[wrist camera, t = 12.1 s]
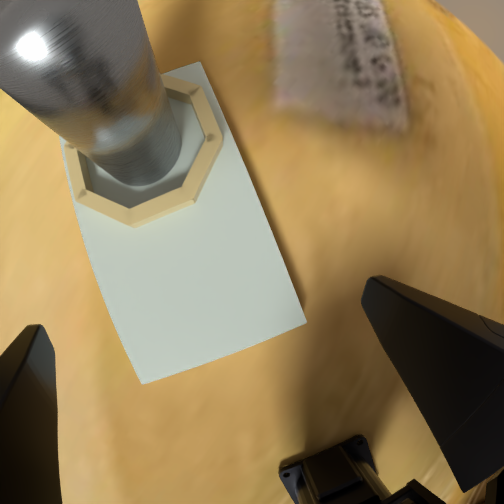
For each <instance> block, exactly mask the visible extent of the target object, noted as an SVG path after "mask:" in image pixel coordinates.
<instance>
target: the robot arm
mask: <svg viewBox="0 0 504 504" xmlns="http://www.w3.org/2000/svg"><path fill="white" fill-rule="evenodd" d="M361 304H362V307H363V309H364V311H365V313H366V315H367V317H368V319H369V321H370V323H371V325H372V327H373V329H374V331H375V333H376V335H377V337H378V339H379V341H380V343H381V345H382V347H383V348H384V350H385V352H386V354H387V355H388V357H389V358H390V360H391V362H392V363H393V365H394V367H395V368H396V370H397V372H398V373H399V375H400V377H401V378H402V380H403V382H404V384H405V385H406V387H407V389H408V390H409V392H410V394H411V396H412V397H413V399H414V401H415V403H416V404H417V406H418V408H419V410H420V411H421V413H422V415H423V417H424V419H425V420H426V422H427V424H428V426H429V428H430V430H431V431H432V433H433V435H434V437H435V439H436V441H437V443H438V444H439V446H440V449H441V451H442V453H443V454H444V456H445V458H446V460H447V462H448V464H449V466H450V468H451V470H452V472H453V474H454V476H455V478H456V480H457V482H458V484H459V486H460V488H461V490H462V492H463V493H465V492H467V491H468V490H470V489H471V488H473V487H475V486H476V485H478V484H479V483H481V482H482V481H484V480H485V479H487V478H488V477H489V476H491V475H492V474H494V473H495V472H497V471H498V472H497V473H496V474H495V475H494V476H493V477H492V478H491V479H490V480H489V481H488V482H487V486H486V496H485V504H504V325H503V324H500V323H498V322H495V321H493V320H490V319H488V318H485V317H483V316H481V315H478V314H476V313H474V312H471V311H469V310H466V309H464V308H462V307H459V306H457V305H454V304H452V303H449V302H447V301H445V300H442V299H440V298H437V297H435V296H432V295H430V294H427V293H425V292H423V291H420V290H418V289H415V288H413V287H410V286H408V285H405V284H403V283H400V282H398V281H395V280H392V279H390V278H387V277H385V276H382V275H377V276H372V277H369V278H368V280H367V282H366V285H365V288H364V292H363V295H362V298H361ZM359 440H361V441H360V442H358V441H359ZM357 442H358V443H357ZM278 473H279V477H280V479H281V481H282V482H283V484H284V486H285V488H286V489H287V491H288V493H289V494H290V496H291V498H292V500H293V501H294V503H295V504H446V503H445V502H444V501H442V500H441V499H440V498H438V497H437V496H436V495H434V494H433V493H432V492H431V491H429V490H428V489H427V488H425V487H424V486H423V485H421V484H420V483H419V482H418V481H416V480H415V479H413V480H411V481H410V482H408V483H407V484H406V486H405V487H403V488H402V489H400V490H398V491H397V492H395V493H394V494H391V493H390V492H389V490H388V489H387V488H386V486H385V485H384V484H383V482H382V481H381V480H380V478H379V477H378V476H377V474H376V471H375V467H374V464H373V460H372V457H371V453H370V450H369V446H368V443H367V440H366V438H365V437H364V436H363V435H361V434H360V435H356V436H354V437H352V438H350V439H348V440H346V441H344V442H342V443H340V444H338V445H336V446H334V447H332V448H329V449H327V450H325V451H323V452H320V453H318V454H316V455H314V456H311V457H309V458H306V459H304V460H301V461H299V462H296V463H294V464H291V465H289V466H286V467H283V468H281V469H280V470H279V472H278ZM284 473H288V474H284ZM0 504H62V496H61V487H60V476H59V462H58V408H57V391H56V368H55V351H54V348H53V345H52V343H51V341H50V339H49V337H48V335H47V332H46V330H45V328H44V327H43V325H41V324H34V325H28V326H26V327H25V329H24V330H23V331H22V332H21V333H20V334H19V335H18V336H17V337H16V338H15V340H14V341H13V342H12V343H11V344H10V345H9V346H8V348H7V349H6V350H5V351H4V352H3V353H2V355H1V356H0Z"/></svg>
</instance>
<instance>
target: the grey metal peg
mask: <svg viewBox="0 0 504 504" xmlns="http://www.w3.org/2000/svg"><path fill="white" fill-rule="evenodd" d="M0 88H1V89H2V90H3V91H4V92H6V93H7V94H8V95H9V96H11V97H12V98H13V99H14V100H15V101H17V102H18V103H19V104H20V105H22V106H23V107H24V108H25V109H27V110H28V111H29V112H30V113H32V114H33V115H34V116H35V117H37V118H38V119H39V120H40V121H42V122H43V123H44V124H45V125H47V126H48V127H49V128H51V129H52V130H53V131H54V132H56V133H57V134H58V135H59V136H61V137H62V138H63V139H64V140H66V141H67V142H68V143H70V144H71V145H72V146H73V147H75V148H76V149H77V150H79V151H80V152H81V153H82V154H84V155H85V156H86V157H88V158H89V159H90V160H92V161H93V162H94V163H95V164H97V165H98V166H99V167H101V168H102V169H103V170H105V171H106V172H107V173H109V174H110V175H111V176H112V177H114V178H115V179H116V180H118V181H119V182H121V183H123V184H125V185H129V186H146V185H150V184H152V183H155V182H157V181H159V180H160V179H162V178H163V177H165V176H166V175H167V174H168V173H169V172H170V171H171V170H172V168H173V167H174V166H175V164H176V162H177V160H178V158H179V155H180V152H181V135H180V132H179V129H178V126H177V124H176V121H175V118H174V115H173V112H172V109H171V106H170V103H169V100H168V97H167V94H166V91H165V88H164V85H163V81H162V78H161V75H160V72H159V69H158V66H157V63H156V60H155V57H154V53H153V50H152V47H151V44H150V41H149V38H148V34H147V31H146V28H145V25H144V21H143V18H142V15H141V11H140V8H139V5H138V1H137V0H0Z"/></svg>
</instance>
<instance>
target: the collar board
mask: <svg viewBox="0 0 504 504" xmlns="http://www.w3.org/2000/svg"><path fill="white" fill-rule="evenodd" d="M160 75H161V78H162V81H163V85H164V88H165V91H166V94H167V97H168V100H169V103H170V106H171V109H172V112H173V115H174V118H175V121H176V124H177V126H178V129H179V132H180V135H181V152H180V155H179V158H178V160H177V162H176V164H175V166H174V167H173V168H172V170H171V171H170V172H169V173H168V174H167V175H166V176H165V177H163V178H162V179H160V180H159V181H157V182H155V183H152V184H150V185H146V186H129V185H125V184H123V183H121V182H119V181H118V180H116V179H115V178H114V177H112V176H111V175H110V174H109V173H107V172H106V171H105V170H103V169H102V168H101V167H99V166H98V165H97V164H95V163H94V162H93V161H92V160H90V159H89V158H88V157H86V156H85V155H84V154H82V153H81V152H80V151H79V150H77V149H76V148H75V147H73V146H72V145H71V144H70V143H68V142H67V141H66V140H64V139H63V138H62V137H61V136H59V138H60V144H61V149H62V155H63V160H64V165H65V170H66V175H67V179H68V184H69V188H70V192H71V197H72V201H73V205H74V208H75V212H76V216H77V220H78V223H79V227H80V230H81V234H82V237H83V240H84V244H85V247H86V250H87V253H88V256H89V259H90V262H91V265H92V268H93V271H94V274H95V277H96V280H97V283H98V285H99V288H100V291H101V293H102V296H103V299H104V301H105V304H106V306H107V309H108V311H109V314H110V316H111V319H112V321H113V323H114V326H115V328H116V331H117V333H118V335H119V337H120V340H121V342H122V344H123V346H124V349H125V351H126V353H127V355H128V357H129V359H130V361H131V363H132V365H133V368H134V370H135V372H136V374H137V376H138V378H139V380H140V382H141V383H142V385H143V384H146V383H149V382H152V381H155V380H159V379H162V378H165V377H168V376H171V375H174V374H177V373H180V372H183V371H186V370H189V369H191V368H194V367H197V366H200V365H203V364H206V363H208V362H211V361H214V360H217V359H219V358H222V357H225V356H227V355H230V354H233V353H235V352H238V351H240V350H243V349H245V348H248V347H251V346H253V345H256V344H258V343H260V342H263V341H265V340H268V339H270V338H273V337H275V336H277V335H280V334H282V333H284V332H287V331H289V330H291V329H294V328H296V327H298V326H301V325H303V324H305V323H307V321H306V318H305V316H304V313H303V310H302V308H301V305H300V302H299V300H298V297H297V295H296V292H295V289H294V287H293V284H292V282H291V279H290V276H289V274H288V271H287V269H286V266H285V264H284V261H283V258H282V256H281V253H280V251H279V248H278V246H277V243H276V241H275V238H274V236H273V233H272V231H271V228H270V226H269V223H268V221H267V218H266V216H265V213H264V211H263V208H262V206H261V203H260V201H259V198H258V196H257V194H256V191H255V189H254V186H253V184H252V181H251V179H250V177H249V174H248V172H247V169H246V167H245V164H244V162H243V160H242V157H241V155H240V153H239V150H238V148H237V145H236V143H235V141H234V138H233V136H232V134H231V131H230V129H229V127H228V124H227V122H226V120H225V117H224V115H223V113H222V110H221V108H220V106H219V103H218V101H217V99H216V96H215V94H214V92H213V90H212V87H211V85H210V83H209V80H208V78H207V76H206V74H205V71H204V69H203V67H202V65H201V62H200V61H199V62H196V63H193V64H190V65H186V66H183V67H180V68H178V69H175V70H172V71H169V72H166V73H164V74H160Z"/></svg>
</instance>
